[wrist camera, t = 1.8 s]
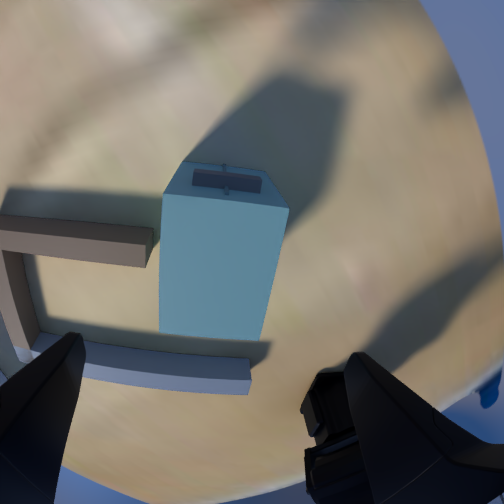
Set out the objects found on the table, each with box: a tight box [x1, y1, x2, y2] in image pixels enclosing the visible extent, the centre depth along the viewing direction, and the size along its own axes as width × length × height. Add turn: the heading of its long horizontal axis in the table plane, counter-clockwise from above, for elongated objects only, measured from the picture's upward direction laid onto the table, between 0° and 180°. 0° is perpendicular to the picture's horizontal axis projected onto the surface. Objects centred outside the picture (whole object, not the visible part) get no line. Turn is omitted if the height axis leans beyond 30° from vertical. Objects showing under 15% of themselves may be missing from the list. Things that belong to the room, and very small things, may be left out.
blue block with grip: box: [159, 161, 290, 341], centre depth 16 cm, size 5×8×7 cm, turn 171°
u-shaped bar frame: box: [0, 215, 252, 395], centre depth 21 cm, size 21×13×2 cm, turn 80°
